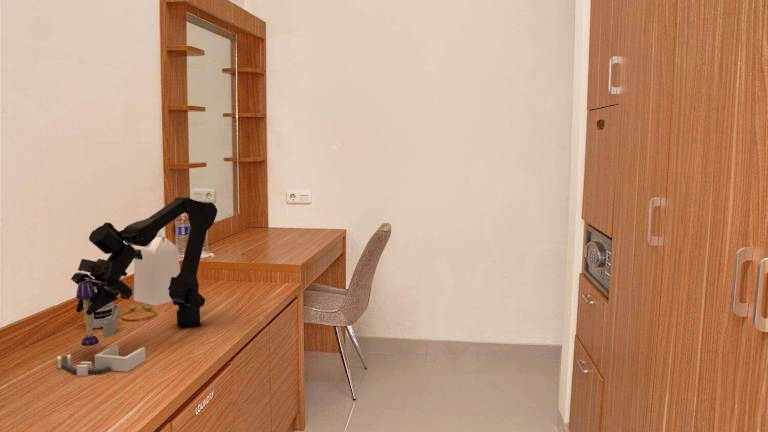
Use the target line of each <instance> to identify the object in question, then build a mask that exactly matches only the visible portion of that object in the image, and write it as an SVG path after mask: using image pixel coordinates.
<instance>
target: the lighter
mask: <svg viewBox="0 0 768 432" xmlns="http://www.w3.org/2000/svg"><path fill="white" fill-rule="evenodd" d="M121 308H122V305H121V304H118V303H117V304H114V303H113V310H112V315H111V316H108V317H106V321H104V322H103V328H102V331H103V332H102V333H103V337H110V336H112V335H114V334H116V333H117V320H118V319H119V317H120V315H121V314H120V313H121ZM115 332H116V333H115Z"/></svg>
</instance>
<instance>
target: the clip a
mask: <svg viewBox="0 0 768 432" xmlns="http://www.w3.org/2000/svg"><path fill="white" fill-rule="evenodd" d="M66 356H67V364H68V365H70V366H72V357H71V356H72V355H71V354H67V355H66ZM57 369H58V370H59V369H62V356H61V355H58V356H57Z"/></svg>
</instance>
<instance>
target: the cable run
mask: <svg viewBox="0 0 768 432" xmlns="http://www.w3.org/2000/svg"><path fill="white" fill-rule="evenodd" d="M61 369H63V370H64V371H66V372H68V373H70V374H73V375H77V367H74V366H72V365H71V366H70V365H68V359H67V355H66V356H61ZM111 371H112V370H111V369H110V367H105V368H101V369H95V368H92V369H88V375H101V374H102V375H103V374H106V373H110V372H111Z"/></svg>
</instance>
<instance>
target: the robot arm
mask: <svg viewBox="0 0 768 432" xmlns="http://www.w3.org/2000/svg"><path fill="white" fill-rule="evenodd" d="M184 213H185V214H188V216H187V217H188V218H187V220H188V222H189V227H190V228H189V234H188V238H187V242H186V246H185V250H184V254H183V258H182V263H181V266H180V273H179V274H178V275H177V277H172V278H171V281H170V286H169V288H168V290H169V296H170V298H171V299H172V304H173V305H174V306H177V308H178V309H176V312H175V313H176V325H177V326H178V328H179V329H184V328H192V327H193V328H194V327H201V326H202V323H201V307H204V306H205V301H206V298H205V297H204V296H202V295H201V293H199V287H200V285H199V281H198V278H197V274H198V269H199V265H200V261H201V257H202V253H203V249H204V244H205V241H206V240H205V239H206V236H207V233H208V230H209V229H210V228H211V227H212V226H213V225H214V222H215V220H216V218H217V216H218V208H217V207H216V205H215V204H214V203H213V202H207V201H200V200H199V201H198V200H196V199H192V198H190V197H185V196H178V197H175V198H174V200H173V201H171V202H169V203H168V204H167V205H165V206H164V207H162V208H160V209H159V210H158V211H157V212H155V213H153V214H151V215H150V216H149V217H148V218H145V219H142V220H137V221H135V222H133V223H131V224H128V225H127V226H125V227H124V228H123V229H122V230H117V228H115V226H114V225H113V224H112V223H111V222H104V223H103V225H100V226H98V227H97V228H95V229H93V230H92V231H91V232H90V235H89V237H88V241H89V242H91V243H92V244H93V245H94V246H95V247H96V248H97V249H98V250H100V251H101V252H102V253H103V254H105V255H109V256H108V258H106V259H101V258H98V259H97V260H96V261H95V260H91V259H86V258H85V259H84V258H81V259H80V263H79V265H78V267H77V271H78V272H75V273H74V274H73V276H72V277H71V278H70V280H71V281H72V282H74V284H76V285H78V284H79V282H82V281H91V283H92V285H93V287H94V290H95V291H96V289H97V293H96V292H95V293H96V296H95V297H93V298H90V303H91V302H92V303H91V305H90V306H89V308H88V310H87V312H86V314H88V315H91V314H92V313H94V312H96V311H97V310H99V309H101V308H102V307H104V306H106V305H107V304H109V303H111V302H113V303H114V301H118V300H119V298H118V296H119V295H120V298H121V299H122V300H127V301H129V300H130V299H131V297H132V295H133V289H132V288H131V287H130V286H128V285H127V284H126V283H125V282H124V281H122V280H121V278H122V277H125V278H126V277H127V276H128V274H129V273H127V270H128V268H129V267H130V266H131V264H132V263H133V262H134V259H139V260H142V254H141V250H138V249H136V248H135V247H137V246H141V247H145V246H147V245H149V244H150V243H151V242H152V241H153V240H154V239H155V238H156V236H157V233H158V232H159V231H160V230H161V229H163V228H165V227H166V226H168V225H169V224H170V223H172V222H173V221H175V220H176V219H178V218H179V217H180V216H181V215H183V214H184ZM134 246H135V247H134ZM84 272H85V273H84ZM88 273H89V274H88ZM91 276H92V277H94V279H93V278H92V277H91ZM99 284H100V285H99ZM83 304H84V303H83V299H78V302H77V305H76V308H75V311H76V312H77V313H79V314H80V313H81V312H82V311H84V307H83Z"/></svg>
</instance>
